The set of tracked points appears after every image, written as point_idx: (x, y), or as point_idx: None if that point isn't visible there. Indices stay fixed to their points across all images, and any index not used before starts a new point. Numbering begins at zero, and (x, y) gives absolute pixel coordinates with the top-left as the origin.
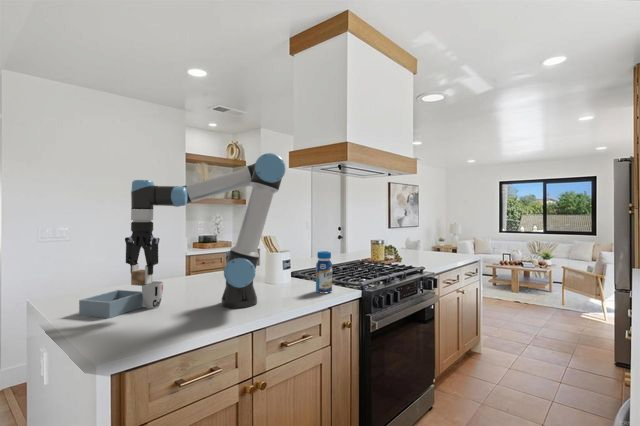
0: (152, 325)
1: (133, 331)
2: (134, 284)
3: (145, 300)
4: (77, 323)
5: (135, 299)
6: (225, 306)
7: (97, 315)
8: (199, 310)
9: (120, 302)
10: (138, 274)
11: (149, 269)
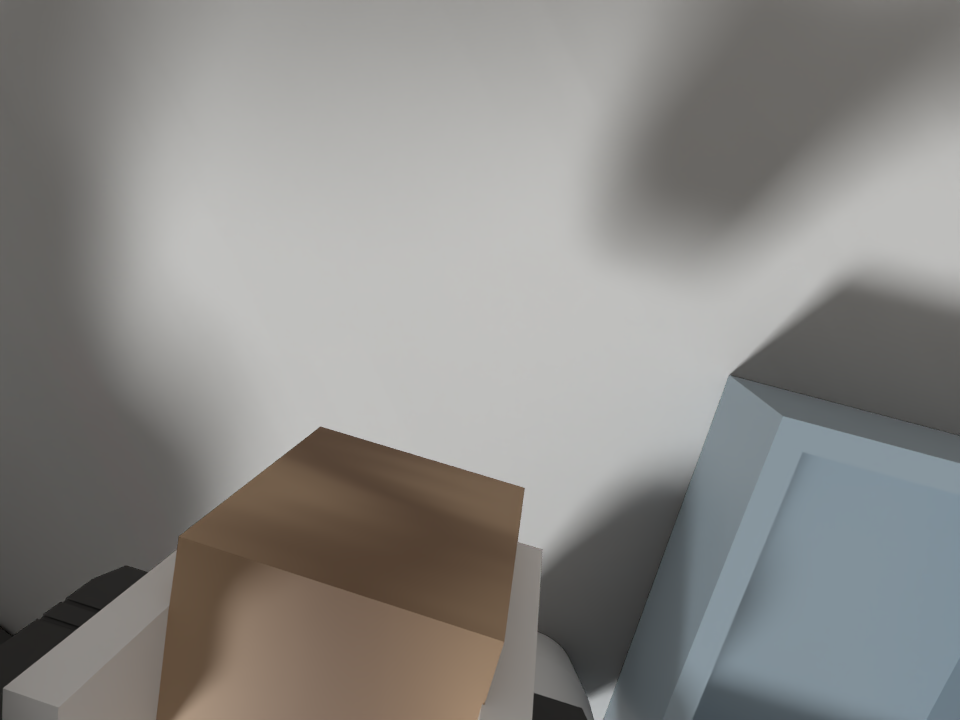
0: (283, 191)
1: (347, 29)
2: (461, 475)
3: (552, 674)
4: (951, 220)
5: (650, 689)
6: (6, 634)
7: (867, 414)
8: (140, 563)
9: (718, 534)
10: (317, 538)
11: (35, 648)
